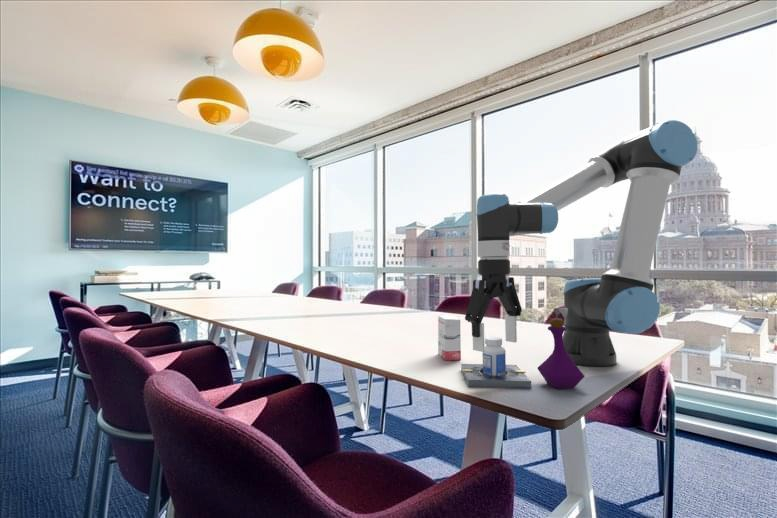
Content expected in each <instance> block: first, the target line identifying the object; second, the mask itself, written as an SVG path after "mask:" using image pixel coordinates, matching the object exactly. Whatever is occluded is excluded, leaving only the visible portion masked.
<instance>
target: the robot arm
mask: <svg viewBox="0 0 777 518" xmlns="http://www.w3.org/2000/svg"><path fill="white" fill-rule="evenodd" d="M698 146H699V143H698V139H697V137H696V134H695V133H694V131H693V130H692V129H691V127H690V126H688V124H686V123H685V122H682V121H679V120H676V119H675V120H673V119H671V120H666V121H663V122H657V123H654V124H653V125H652V126H649V127H648V128H645V129H643V130H639V131H637V132H635V133H632V134H630V135H626V136H625V137H623V138H621V139H620V140H619V139H618V141H616V142H615V143H613V144H611V145H610V146H609V147H607V148H606V149H604V150H603V151H601V152H600V153H598V154H596V155H595V156H592V157H591V158H590V159H589V160H588V162H587V164H585V165H584V166H582V167H580V168H578V169H577V170H574V171H573V172H571V173H569V174H567V175H565V176H563V177H562V178H560V179H558V180H556V181H555V182H552V183H551V184H549V185H546V186H545V187H543V188H542V189H539V190H538V191H536V192H534V193H532V194H531V195H529V196H527V197H525V198H523V199H521V200H520V201H518V202H510V199H509V195H508V194H506V193H487V194H483V195H481V196H479V197H478V198H477V201H476V203H477V205H476V228H477V258H480V259H478V261H477V269H478V270H477V272H478V275H480V276H481V277H482V278H481V279H473V281H472V289H471V294H470V297H469V302H468V306H467V308H466V312H465V316H464V319H465V321H467V322H468V323H471V336H472V350H473V351H476V352H481V353H483V352H484V351H485V346H486V345H485V322H483V320H484V319H483V318H484V317H485V315H486V312H487V310H488V309H489V305H490V303H491V301H492V300H493V299H494V298H498V300H499V301H500V303H501V306H502V307H503V309H504V311H505V312H506V314H507V315H504V325H505V341H506V342H509V343H517V341H518V340H517V339H518V338H517V337H518V336H517V326H518V325H517V316H518V317H520V316H521V314H522V313H521V312H522V307H521V303H520V299H519V296H518V293H517V289H516V285H515V278H514V277H513V276H512V277H511V276H509V275H510V273H511V261H510V259H508V257H510V255H511V254H510V253H511V252H510V247H511V245H510V237H514V236H522V235H523V236H524V235H530V234H531V235H532V234H534V235H535V234H540V235H542V234H550V233H553V232H554V231H555V230H556V229H557V227H558V223H559V211H560V210H562V209H564V208H565V207H568V206H569V205H571V204H573V203H575V202H576V201H578V200H581V199H582V198H584V197H586V196H587V195H590V194H591V193H593V192H594V191H596V190H598V189H600V188H609V187H611V186H612V185H614V184H617V183H619V182H622V181H627V180H630V186H629V188H628V189H629V190H628V192H627V198H626V202H625V207H624V210H623V213H622V214H623V215H622V219H621V223H620V226H619V230H618V235H617V239H616V242H615V247H614V252H613V256H612V259H611V260H612V261H611V263H610V268H609V269H608V270H606V271H605V272H603V273H602V274H601V278H582V279H581V278H580V279H572V280H571V279H570V280H568V281H566V282H565V283H564V289H563V296H564V297H563V300H564V302H563V304H564V305H563V308H568V313H567V316H566V317H565V318H564V317H563V318H564V320H563V327H565V328H566V330H565V331H564V332H563V335H562V338H563V343H564V347H565V350H566V352H567V354H568V355H569V357H570V358H571V359H572V360H573V362H574V363H575V364H576V365H581V366H587V367H589V366H591V367H608V366H609V367H610V366H614V365H617V353H616V349H615V347H614V344H613V341H612V339H611V335H610V331H613V332H615V333H616V332H617V333H619V334H629V335H631V334H632V335H637V334H638V335H639V334H640V333H641V334H642V333H643V332H645V331H647V330H649V329H650V328H651V327H653V325H654V324H655V323H656V322H657V319H658V318H659V315H660V311H661V307H660V306H661V305H660V304H661V303H660V301H658V296H657V295H656V293H654V291H653V289H654V285H655V283H654V282H653V281H652V280H651V279H650V271H651V268H652V262H653V258H654V254H655V249H656V247H657V242H658V237H659V232H660V230H661V229H660V228H661V225H662V220H663V217H664V216H663V215H664V211H665V209H666V203H667V199H668V195H669V190H670V186H671V185H672V184H674V183H675V182H676V183H677V181H679V180H680V176H681V171H682V167H684V166H687V164H689V163H690V162H692V161H693V160H694V159H695V157H696V155H697V153H698V148H699V147H698Z"/></svg>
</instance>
